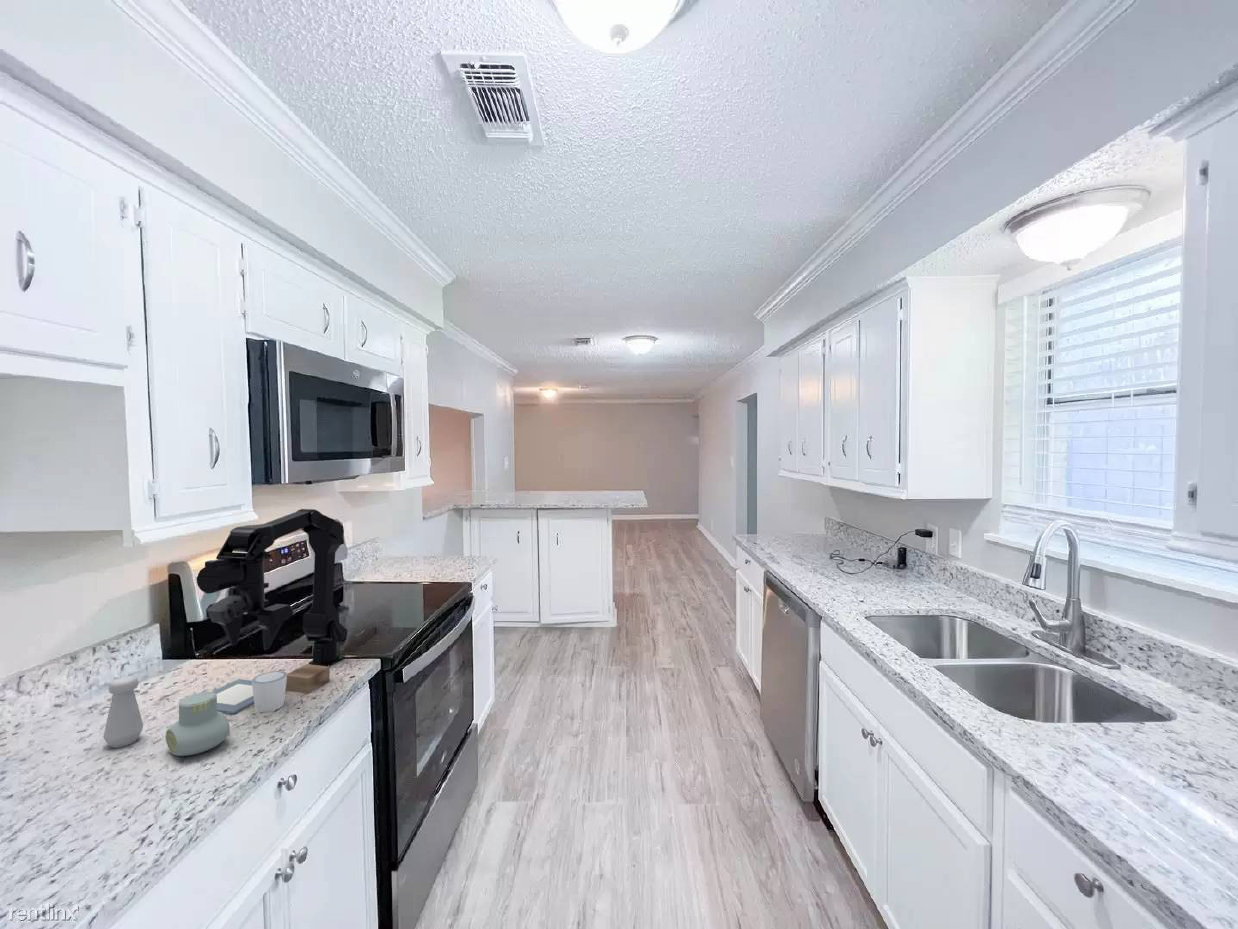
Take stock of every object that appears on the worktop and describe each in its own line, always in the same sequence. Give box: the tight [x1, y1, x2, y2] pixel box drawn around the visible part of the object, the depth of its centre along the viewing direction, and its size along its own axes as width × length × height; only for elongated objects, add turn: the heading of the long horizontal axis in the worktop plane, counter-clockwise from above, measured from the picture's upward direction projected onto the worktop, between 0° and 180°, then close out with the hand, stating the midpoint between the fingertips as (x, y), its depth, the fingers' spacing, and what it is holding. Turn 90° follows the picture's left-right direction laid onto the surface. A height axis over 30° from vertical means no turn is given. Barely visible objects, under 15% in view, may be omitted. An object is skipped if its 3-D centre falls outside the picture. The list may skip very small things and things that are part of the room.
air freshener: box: [165, 691, 231, 757], centre depth 103 cm, size 11×8×10 cm
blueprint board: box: [211, 678, 254, 715], centre depth 124 cm, size 14×14×1 cm
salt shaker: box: [102, 675, 144, 749], centre depth 104 cm, size 6×6×13 cm
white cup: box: [251, 670, 288, 713], centre depth 120 cm, size 7×7×7 cm
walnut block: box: [285, 663, 331, 694], centre depth 131 cm, size 7×7×4 cm
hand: (250, 647), depth 121 cm, fingers open, 9 cm apart
